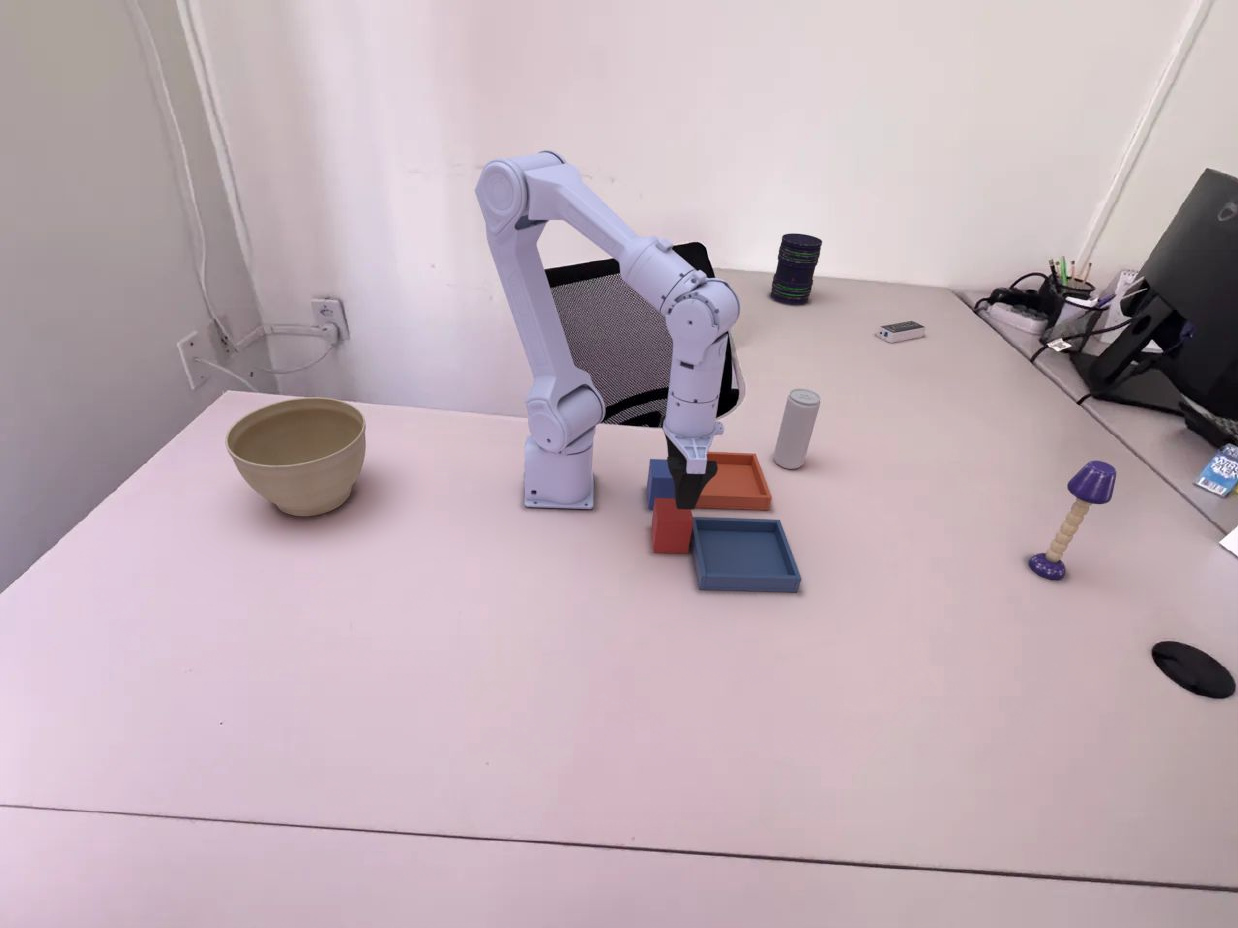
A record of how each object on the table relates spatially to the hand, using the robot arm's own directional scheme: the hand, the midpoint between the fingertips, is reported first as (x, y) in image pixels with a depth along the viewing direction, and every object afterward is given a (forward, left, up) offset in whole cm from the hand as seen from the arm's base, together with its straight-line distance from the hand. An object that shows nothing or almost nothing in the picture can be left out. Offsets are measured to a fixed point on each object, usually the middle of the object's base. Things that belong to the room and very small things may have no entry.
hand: (681, 488), depth 81 cm
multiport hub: (+60, +74, -9) cm, 96 cm away
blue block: (-1, +9, -9) cm, 13 cm away
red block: (-1, 0, -9) cm, 9 cm away
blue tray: (+8, -3, -9) cm, 13 cm away
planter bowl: (-49, +7, -9) cm, 50 cm away
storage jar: (+39, +95, -9) cm, 103 cm away
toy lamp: (+49, -3, -9) cm, 50 cm away
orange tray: (+8, +13, -9) cm, 18 cm away
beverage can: (+20, +20, -9) cm, 30 cm away
